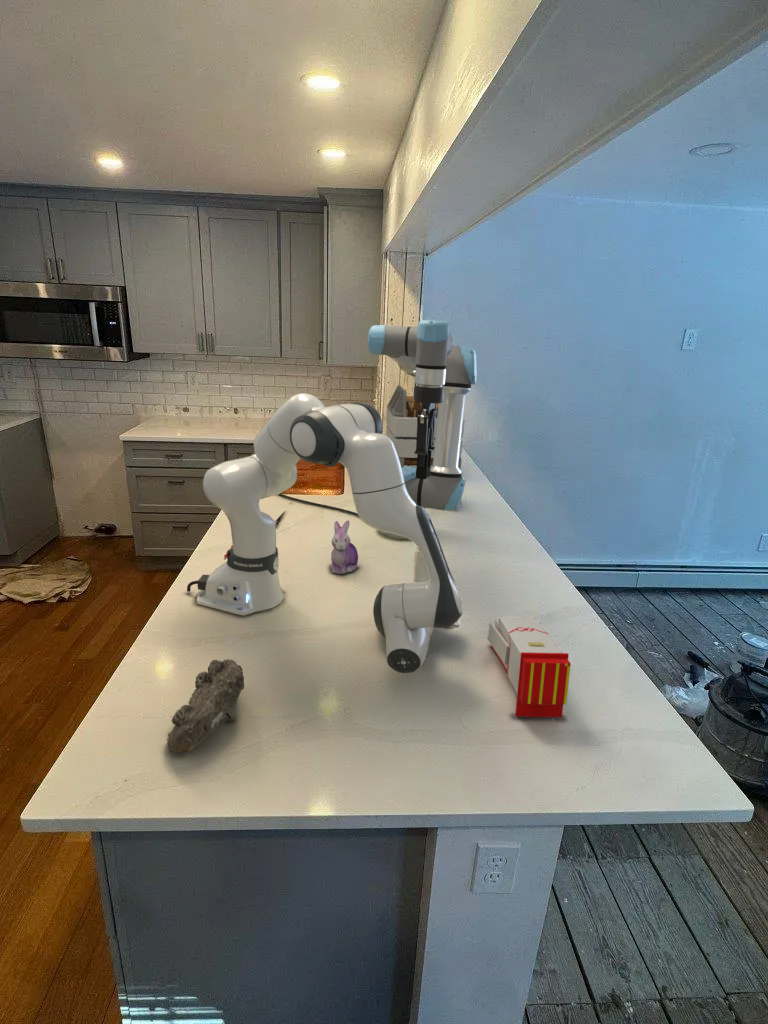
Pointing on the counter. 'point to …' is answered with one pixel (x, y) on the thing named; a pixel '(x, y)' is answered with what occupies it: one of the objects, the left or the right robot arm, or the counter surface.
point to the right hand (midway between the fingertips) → (423, 476)
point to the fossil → (206, 705)
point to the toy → (531, 665)
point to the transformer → (407, 427)
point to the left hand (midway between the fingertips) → (421, 595)
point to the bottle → (420, 568)
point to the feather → (279, 519)
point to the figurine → (343, 550)
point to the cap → (428, 471)
